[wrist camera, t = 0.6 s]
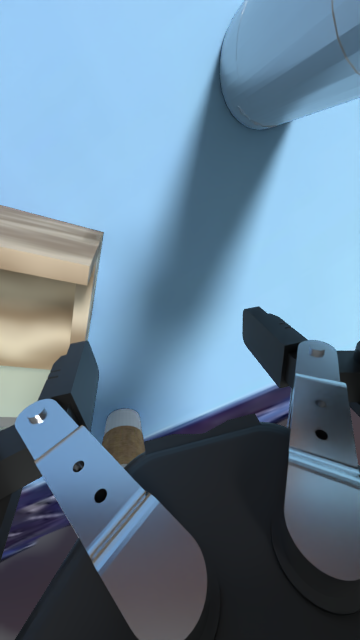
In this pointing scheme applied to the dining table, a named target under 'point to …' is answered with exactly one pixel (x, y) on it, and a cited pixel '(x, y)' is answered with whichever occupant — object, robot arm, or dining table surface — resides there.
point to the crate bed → (44, 287)
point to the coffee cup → (123, 436)
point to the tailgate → (19, 391)
